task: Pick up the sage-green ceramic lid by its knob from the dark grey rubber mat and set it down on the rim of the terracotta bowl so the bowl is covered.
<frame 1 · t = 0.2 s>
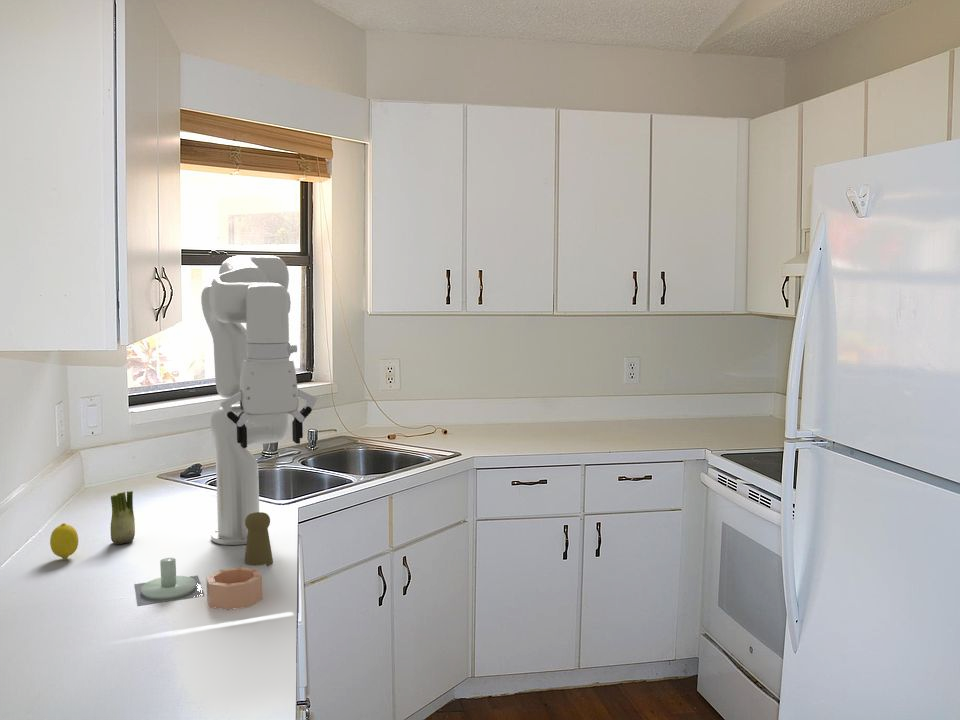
hand: (270, 444, 156), 31 cm above the worktop, tool pointing down, fingers open, 9 cm apart
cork: (258, 564, 182), on the worktop
bowl: (234, 601, 161), on the worktop
fennel bulb: (123, 543, 196), on the worktop
mat: (169, 592, 165), on the worktop
lemon: (65, 559, 184), on the worktop
lid: (169, 589, 165), point 1 cm above the worktop, touching mat
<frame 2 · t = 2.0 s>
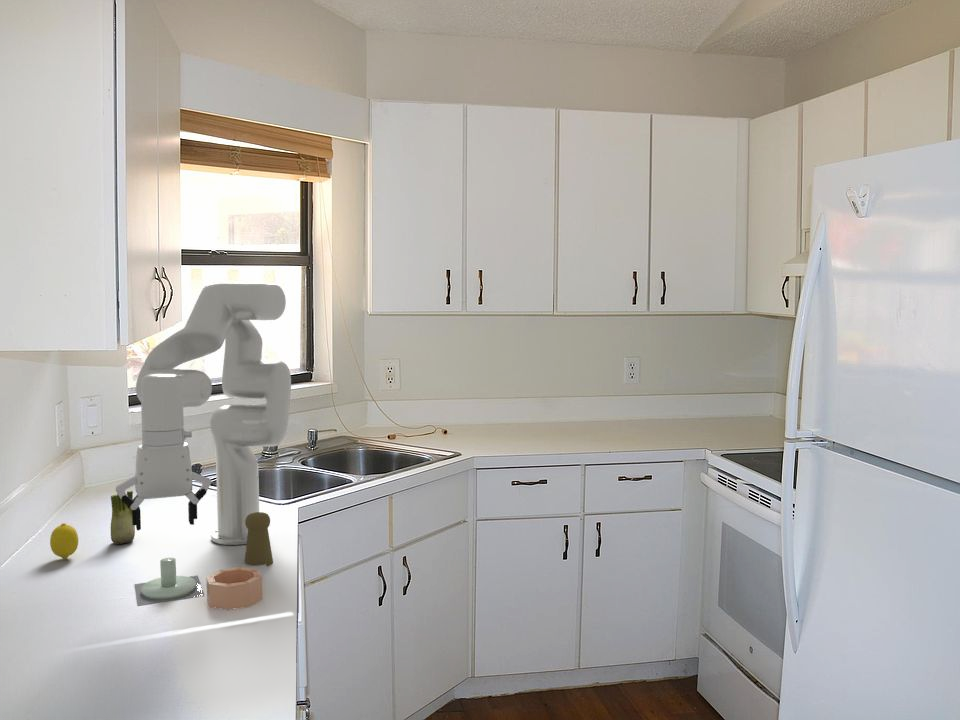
hand: (165, 525, 163), 14 cm above the worktop, tool pointing down, fingers open, 9 cm apart
nothing on the worktop moved.
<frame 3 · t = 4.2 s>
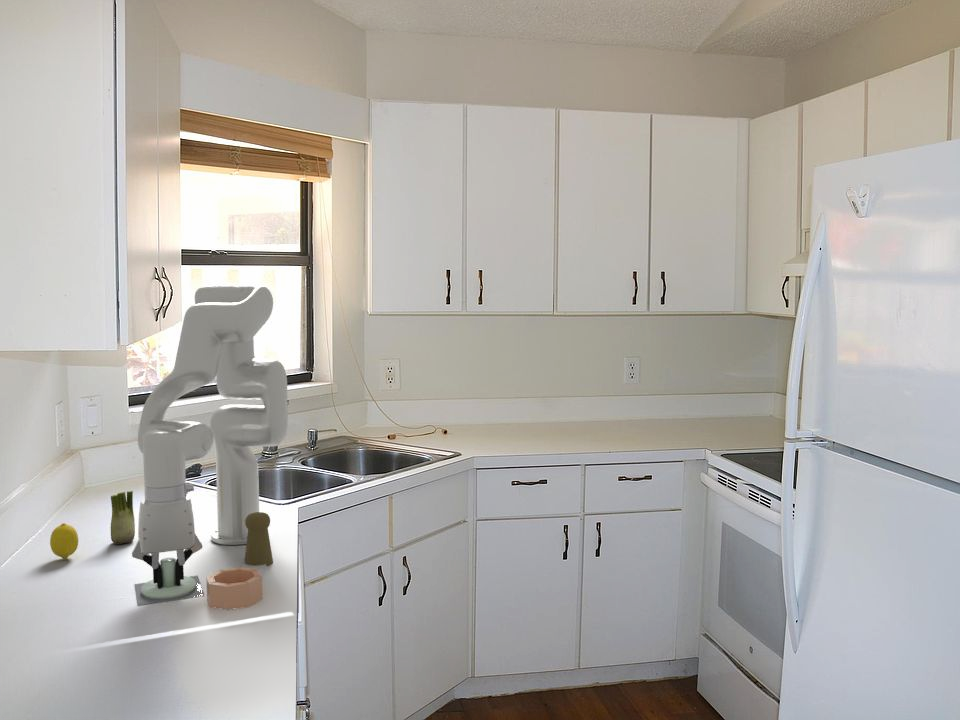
hand: (168, 583, 165), 2 cm above the worktop, tool pointing down, fingers closed on lid, 2 cm apart
lid: (169, 589, 165), point 1 cm above the worktop, touching gripper, mat
everything else where it was.
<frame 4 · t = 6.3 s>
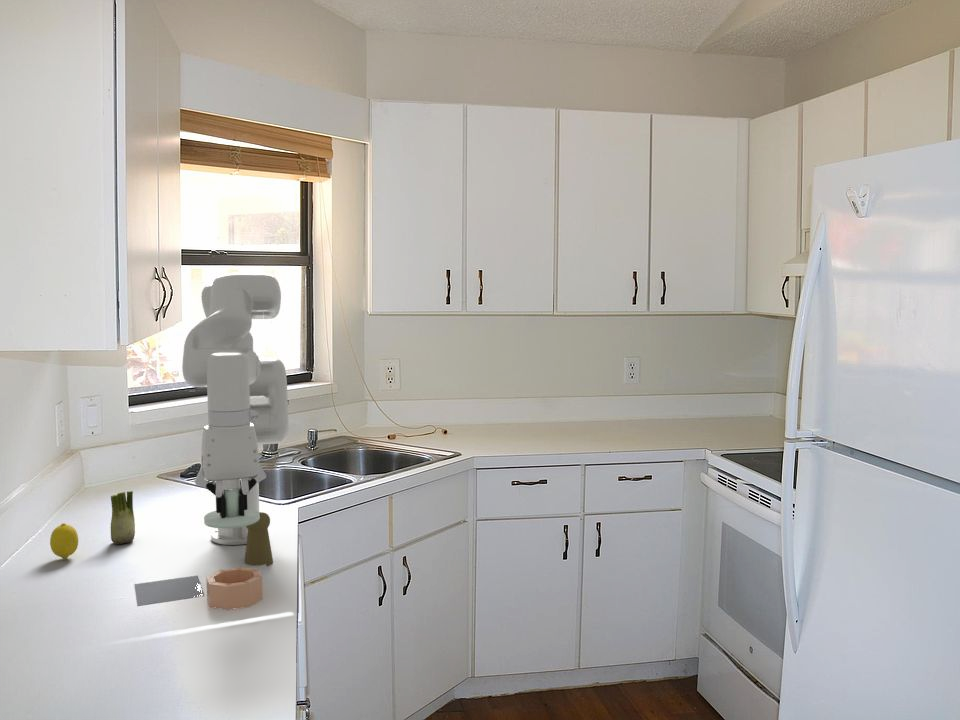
hand: (231, 514, 159), 17 cm above the worktop, tool pointing down, fingers closed on lid, 2 cm apart
lid: (232, 520, 159), point 16 cm above the worktop, touching gripper
everything else where it was.
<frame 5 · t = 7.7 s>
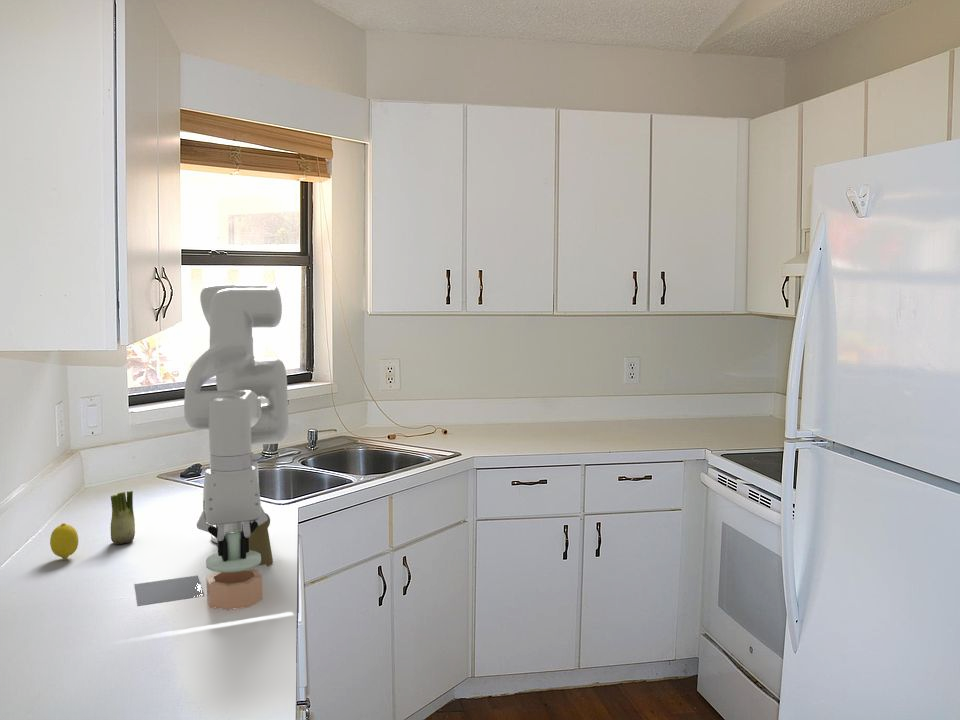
hand: (233, 557, 159), 9 cm above the worktop, tool pointing down, fingers closed on lid, 2 cm apart
lid: (233, 563, 160), point 8 cm above the worktop, touching gripper
everything else where it was.
when the fingers open (8 cm above the worktop, at t = 8.6 s): lid drops 1 cm, resting on bowl.
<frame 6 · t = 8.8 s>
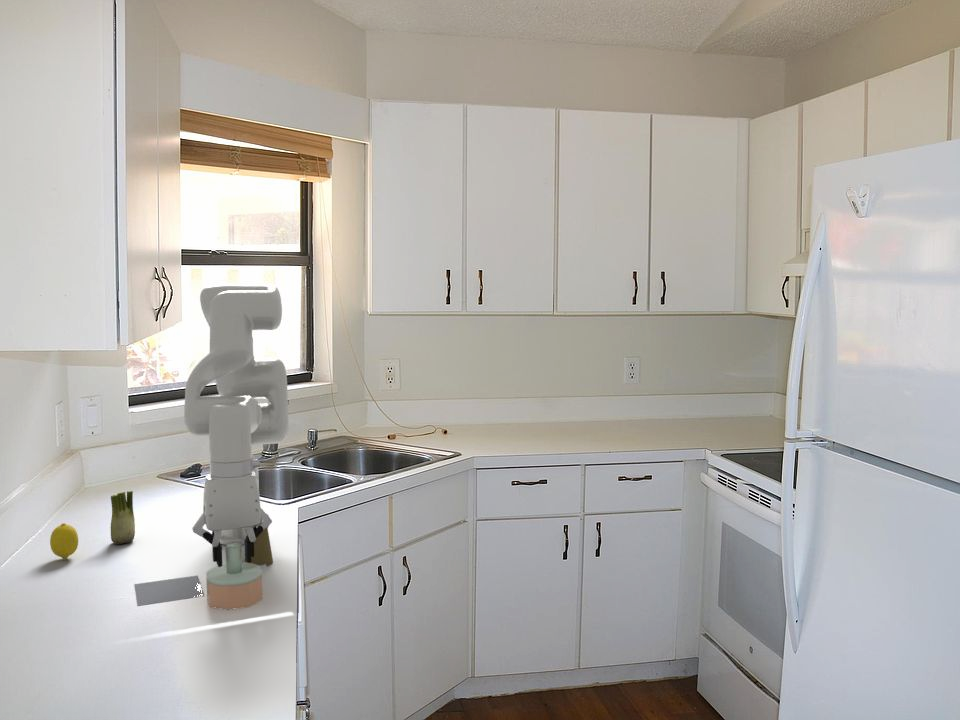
hand: (233, 561, 160), 8 cm above the worktop, tool pointing down, fingers open, 4 cm apart
lid: (234, 576, 160), point 5 cm above the worktop, touching bowl
everything else where it was.
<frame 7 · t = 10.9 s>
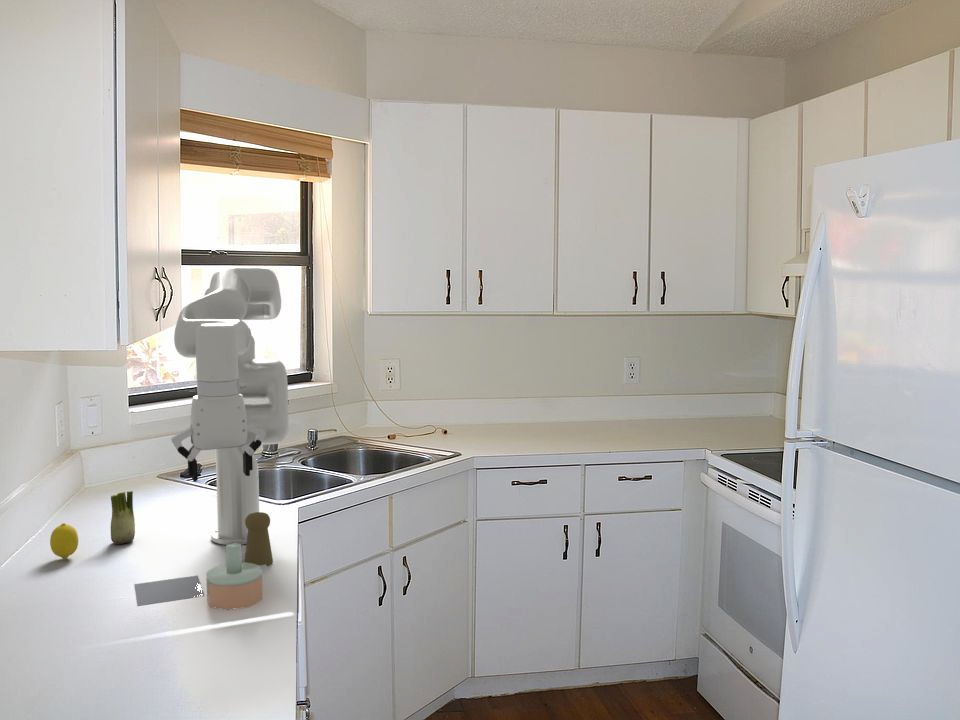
hand: (220, 477, 161), 23 cm above the worktop, tool pointing down, fingers open, 9 cm apart
nothing on the worktop moved.
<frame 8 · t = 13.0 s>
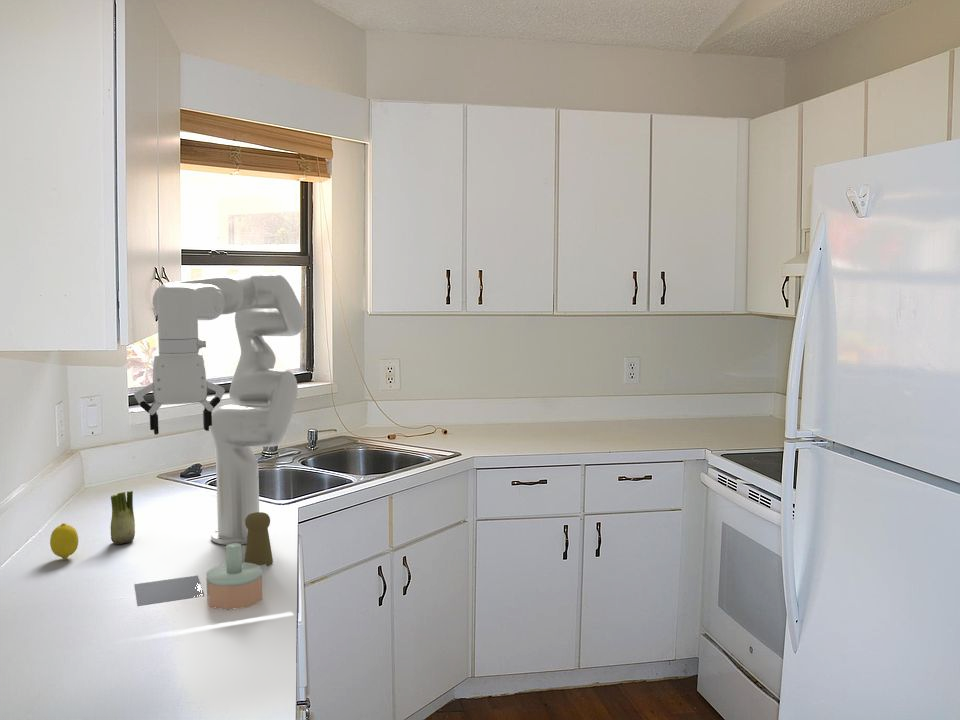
hand: (181, 431, 171), 30 cm above the worktop, tool pointing down, fingers open, 9 cm apart
nothing on the worktop moved.
at the end: lid 0.0 cm off-centre on the bowl, point 5.0 cm above the bowl's base; lid tilted 0°; the gripper is holding nothing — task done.
